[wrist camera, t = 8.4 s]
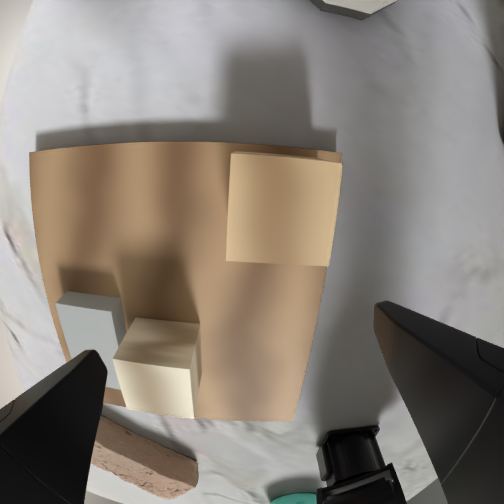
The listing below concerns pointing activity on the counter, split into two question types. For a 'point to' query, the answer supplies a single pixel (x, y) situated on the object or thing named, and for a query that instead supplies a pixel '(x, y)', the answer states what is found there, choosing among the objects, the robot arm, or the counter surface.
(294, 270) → the baseplate
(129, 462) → the brick
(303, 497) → the decorative dice
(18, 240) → the counter surface
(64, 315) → the grey slab
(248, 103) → the counter surface
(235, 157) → the maple cube
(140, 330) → the birch cube
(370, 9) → the wine bottle
